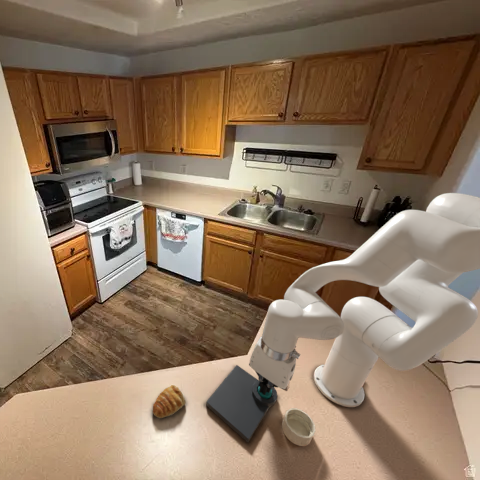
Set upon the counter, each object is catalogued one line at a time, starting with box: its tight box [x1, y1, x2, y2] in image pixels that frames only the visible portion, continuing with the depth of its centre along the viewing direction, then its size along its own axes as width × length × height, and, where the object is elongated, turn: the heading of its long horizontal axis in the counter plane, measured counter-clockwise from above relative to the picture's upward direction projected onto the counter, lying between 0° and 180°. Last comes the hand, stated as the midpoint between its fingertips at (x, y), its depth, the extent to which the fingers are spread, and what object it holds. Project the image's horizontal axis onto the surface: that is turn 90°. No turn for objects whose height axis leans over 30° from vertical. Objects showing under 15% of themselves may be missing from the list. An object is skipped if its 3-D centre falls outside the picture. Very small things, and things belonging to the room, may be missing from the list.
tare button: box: [258, 386, 272, 399], centre depth 73 cm, size 4×4×2 cm
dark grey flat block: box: [205, 364, 278, 444], centre depth 73 cm, size 16×14×4 cm
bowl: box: [281, 407, 316, 447], centre depth 66 cm, size 7×7×4 cm
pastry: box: [152, 384, 187, 419], centre depth 73 cm, size 9×7×4 cm
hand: (264, 389), depth 72 cm, fingers closed
